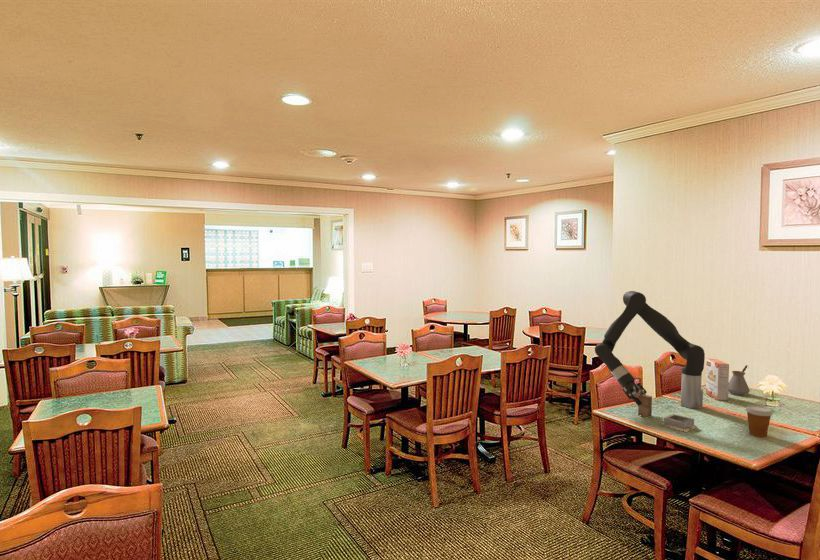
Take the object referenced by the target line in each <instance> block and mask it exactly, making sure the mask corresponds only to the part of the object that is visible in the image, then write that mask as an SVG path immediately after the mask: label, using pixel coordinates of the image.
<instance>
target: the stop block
mask: <svg viewBox="0 0 820 560" xmlns="http://www.w3.org/2000/svg"><path fill="white" fill-rule="evenodd" d="M638 399H639V400H640V401H641V403H642V404H641V405H640V406H638V405H637V406H638V408H637V409H638V410H637V416H639V415H641V416H640V417H642V416H644V417H643V418H646V417H648V418H650V417H652V409H653V396H652V395H648V394H646V395H644V394H642V395H638ZM649 416H650V417H649Z"/></svg>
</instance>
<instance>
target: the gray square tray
mask: <svg viewBox="0 0 820 560" xmlns="http://www.w3.org/2000/svg"><path fill="white" fill-rule="evenodd" d="M661 426H662V427H666V428H668V427H669V429H672V428H673V429H672V430H676V429H677V431H679V430H680V431H679V432H683V431H684V433H688V432H690V431H692V430H694V429H696V428H697V427H698V426H697V424H695V419H694V418H691V417H687V416H683V415H679V414H674V413H672V414H669V415H668V416H665V417H663V422H662V423H661Z"/></svg>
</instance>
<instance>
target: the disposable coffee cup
mask: <svg viewBox="0 0 820 560" xmlns="http://www.w3.org/2000/svg"><path fill="white" fill-rule="evenodd" d="M745 411H746V414H747V415H746V416H747V424H748V431H749V432H748V433H749V435H751V436H753V437H756V438H767V436H768V432H769V427H770V422H771V417H772V415H773V412H772V410H771V408H768V407H764V406H760V405H747V407H746V408H745Z"/></svg>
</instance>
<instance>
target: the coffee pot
mask: <svg viewBox="0 0 820 560" xmlns="http://www.w3.org/2000/svg"><path fill="white" fill-rule="evenodd" d="M747 369H748V365H747V364H746V365H745V366H744V367H743V369H742V371H739V370H732V371H731V373H732V376H731V377H730V378H729V385H728V393H730V394H732V395H734V396H735V395H736V396H746V395H747V394H749V393H750V392H751V391H750V388H749V385H748V383H747V381H746V378H745V375H746V372H745V371H746V370H747Z"/></svg>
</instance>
